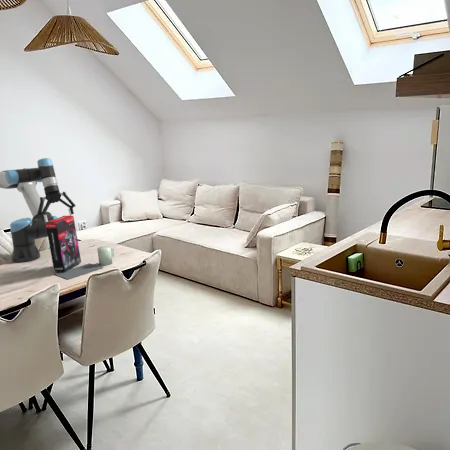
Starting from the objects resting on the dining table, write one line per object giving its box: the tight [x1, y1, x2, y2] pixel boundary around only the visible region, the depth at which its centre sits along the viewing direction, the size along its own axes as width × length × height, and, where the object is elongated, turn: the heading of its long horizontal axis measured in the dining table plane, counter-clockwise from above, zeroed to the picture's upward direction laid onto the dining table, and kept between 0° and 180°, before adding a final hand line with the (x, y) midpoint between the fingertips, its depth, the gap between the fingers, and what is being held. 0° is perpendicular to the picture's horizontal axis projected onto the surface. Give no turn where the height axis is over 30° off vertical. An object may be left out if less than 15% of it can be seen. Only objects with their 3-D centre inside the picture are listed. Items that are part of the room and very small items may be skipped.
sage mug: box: [96, 245, 115, 267], centre depth 234 cm, size 7×9×9 cm
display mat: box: [54, 262, 104, 281], centre depth 223 cm, size 13×21×1 cm, turn 141°
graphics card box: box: [45, 215, 82, 273], centre depth 226 cm, size 17×7×27 cm, turn 168°
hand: (60, 223), depth 234 cm, fingers open, 13 cm apart
